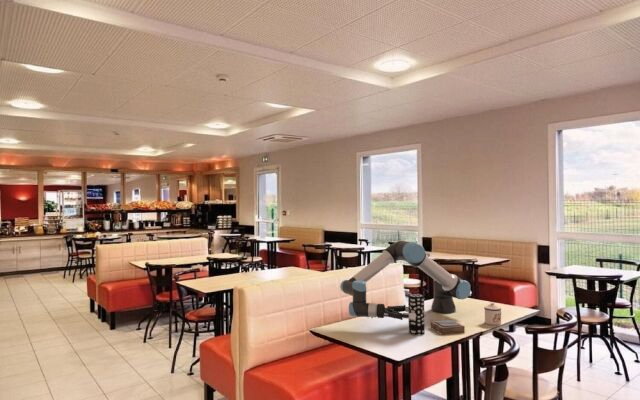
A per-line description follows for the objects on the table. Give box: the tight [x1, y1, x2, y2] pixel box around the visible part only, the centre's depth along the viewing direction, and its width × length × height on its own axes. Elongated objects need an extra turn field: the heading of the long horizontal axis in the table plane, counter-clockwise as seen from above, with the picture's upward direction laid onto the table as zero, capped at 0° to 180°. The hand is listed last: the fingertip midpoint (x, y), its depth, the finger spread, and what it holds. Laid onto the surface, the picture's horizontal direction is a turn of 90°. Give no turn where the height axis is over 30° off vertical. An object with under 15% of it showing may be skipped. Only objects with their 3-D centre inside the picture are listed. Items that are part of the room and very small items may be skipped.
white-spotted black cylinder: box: [407, 293, 426, 336], centre depth 227 cm, size 8×8×20 cm
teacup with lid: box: [483, 302, 502, 326], centre depth 244 cm, size 12×9×12 cm
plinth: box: [430, 319, 466, 336], centre depth 231 cm, size 13×13×4 cm
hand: (416, 312), depth 227 cm, fingers open, 13 cm apart
